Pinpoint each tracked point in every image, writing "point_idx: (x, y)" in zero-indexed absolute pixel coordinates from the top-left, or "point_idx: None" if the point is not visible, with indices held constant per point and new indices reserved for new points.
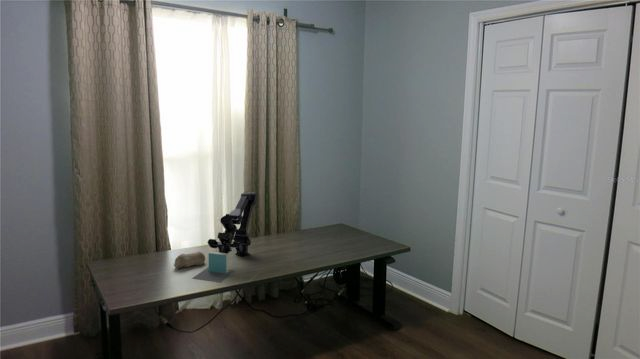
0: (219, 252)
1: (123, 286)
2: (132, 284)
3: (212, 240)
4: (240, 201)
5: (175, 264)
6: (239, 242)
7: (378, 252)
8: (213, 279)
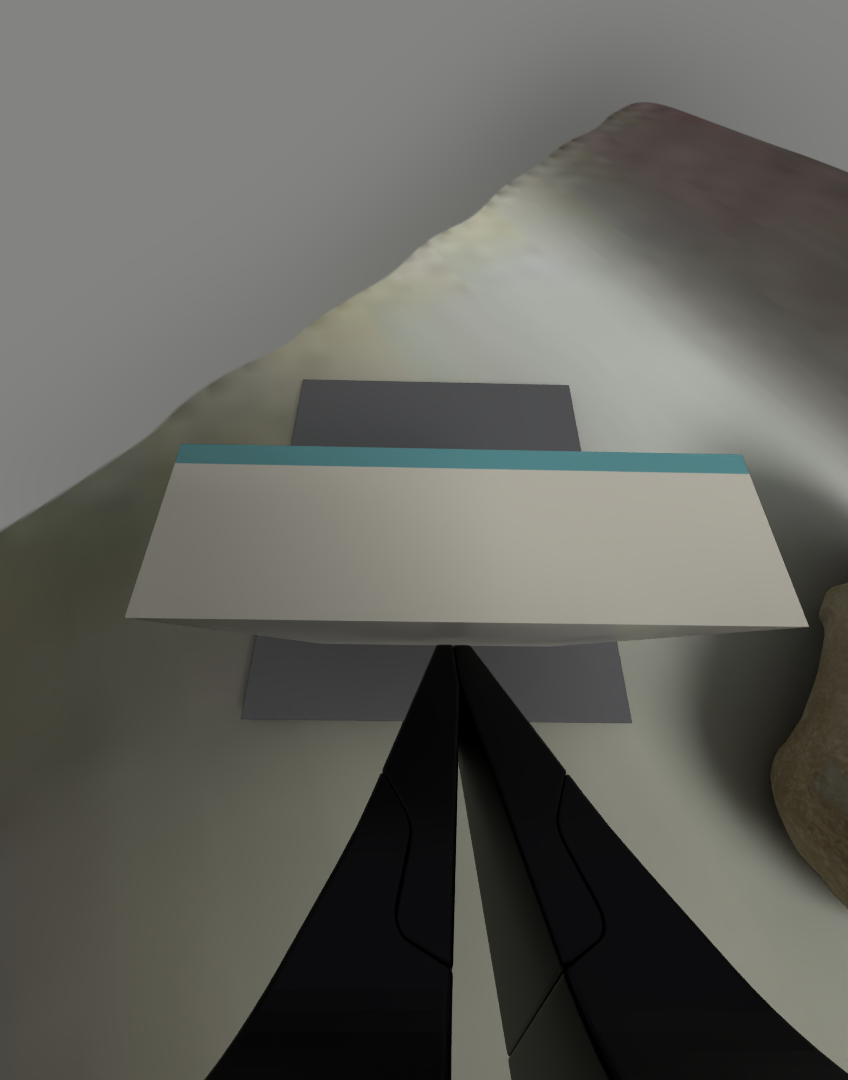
0: (549, 765)
1: (838, 224)
2: (828, 250)
3: None
4: None
5: None
6: None
7: None
8: (388, 414)
